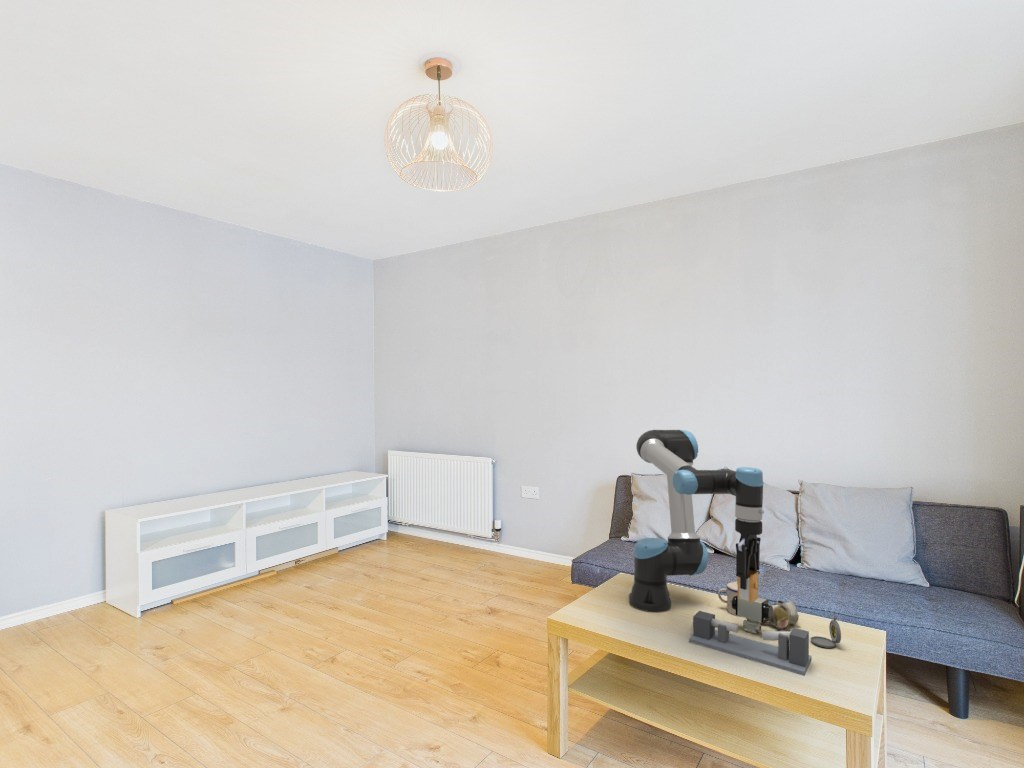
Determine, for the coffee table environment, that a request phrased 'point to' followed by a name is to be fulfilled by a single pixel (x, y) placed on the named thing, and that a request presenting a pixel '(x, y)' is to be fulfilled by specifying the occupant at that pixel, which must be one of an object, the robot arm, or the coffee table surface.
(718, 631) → the shaft rig
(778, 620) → the ceramic sculpture
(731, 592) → the teacup with lid
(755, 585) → the universal joint coupler
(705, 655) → the coffee table surface
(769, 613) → the pneumatic valve
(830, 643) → the pocket watch
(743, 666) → the coffee table surface
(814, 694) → the coffee table surface
